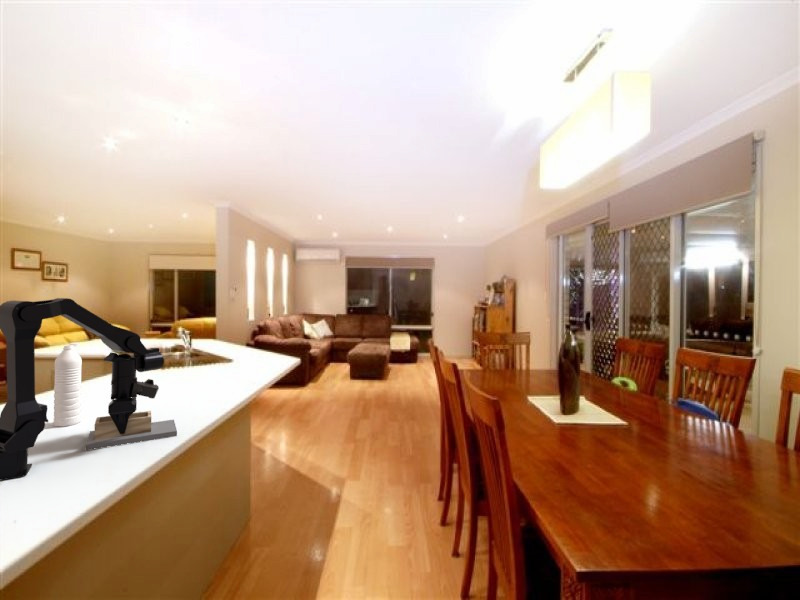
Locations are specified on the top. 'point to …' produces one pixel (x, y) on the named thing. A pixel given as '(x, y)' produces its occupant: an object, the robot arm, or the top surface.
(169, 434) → the grey plate with ball
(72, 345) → the water bottle
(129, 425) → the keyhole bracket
